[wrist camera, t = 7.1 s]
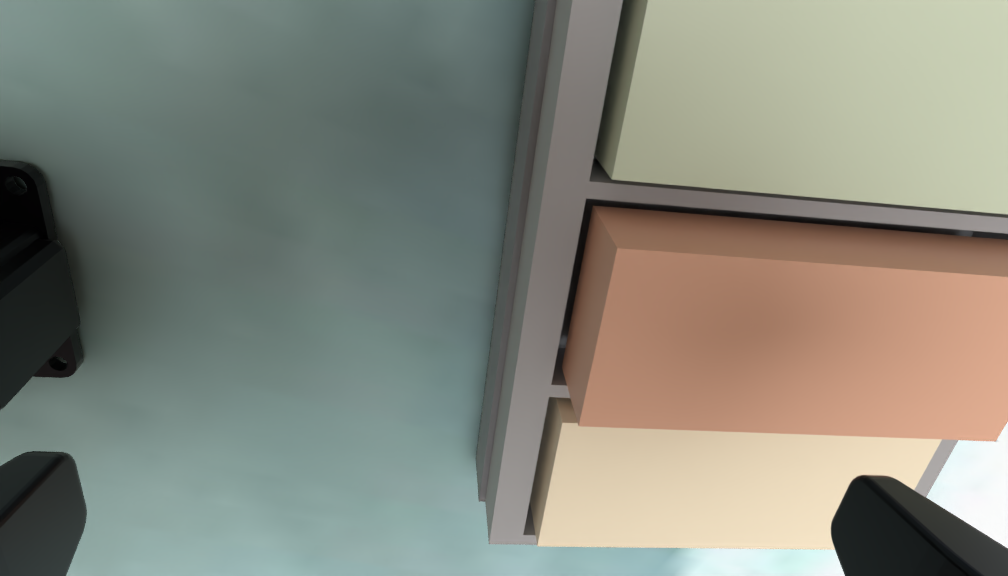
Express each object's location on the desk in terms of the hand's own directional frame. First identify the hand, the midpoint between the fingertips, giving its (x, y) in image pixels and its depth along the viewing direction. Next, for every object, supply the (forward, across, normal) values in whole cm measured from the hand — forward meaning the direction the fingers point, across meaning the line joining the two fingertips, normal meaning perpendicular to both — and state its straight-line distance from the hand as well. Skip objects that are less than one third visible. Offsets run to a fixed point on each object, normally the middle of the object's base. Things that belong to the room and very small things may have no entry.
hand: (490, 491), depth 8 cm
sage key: (+10, -8, -4) cm, 14 cm away
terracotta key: (+9, -8, +2) cm, 12 cm away
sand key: (+10, -8, +7) cm, 15 cm away
